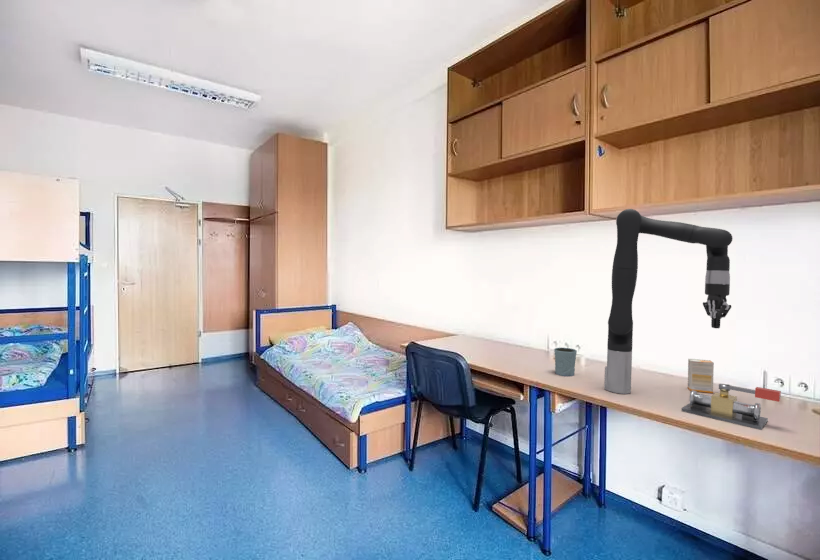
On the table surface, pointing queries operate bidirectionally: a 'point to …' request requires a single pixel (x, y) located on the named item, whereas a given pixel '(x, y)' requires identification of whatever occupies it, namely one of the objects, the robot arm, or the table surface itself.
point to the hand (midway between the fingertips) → (715, 328)
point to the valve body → (725, 409)
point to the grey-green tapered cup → (565, 361)
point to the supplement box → (700, 375)
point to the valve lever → (755, 392)
